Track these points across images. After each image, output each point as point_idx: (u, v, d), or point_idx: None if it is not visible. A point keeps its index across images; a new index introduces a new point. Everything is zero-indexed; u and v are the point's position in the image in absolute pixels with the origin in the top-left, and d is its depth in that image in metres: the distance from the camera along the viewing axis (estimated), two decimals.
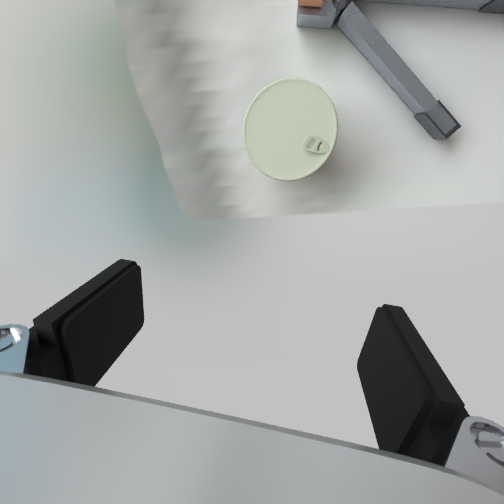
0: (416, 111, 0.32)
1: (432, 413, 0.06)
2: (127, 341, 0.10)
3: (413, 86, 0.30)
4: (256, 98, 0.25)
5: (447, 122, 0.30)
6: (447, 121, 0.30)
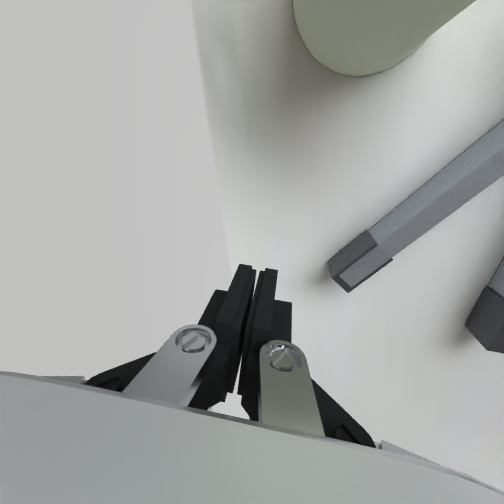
0: (375, 231, 0.20)
1: (251, 340, 0.08)
2: None
3: (424, 220, 0.17)
4: None
5: (356, 275, 0.20)
6: (358, 275, 0.20)
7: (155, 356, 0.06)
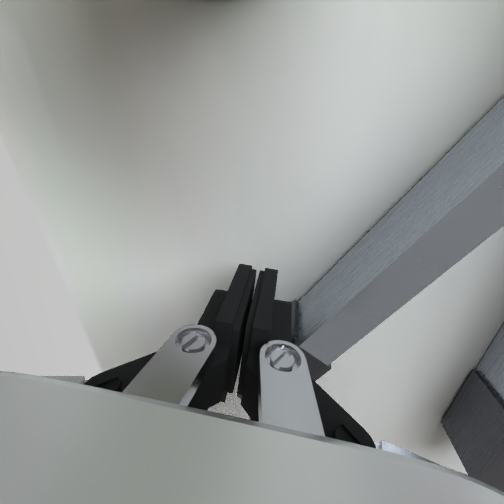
0: (304, 308, 0.12)
1: (251, 340, 0.08)
2: None
3: (374, 303, 0.09)
4: None
5: None
6: None
7: (155, 356, 0.06)
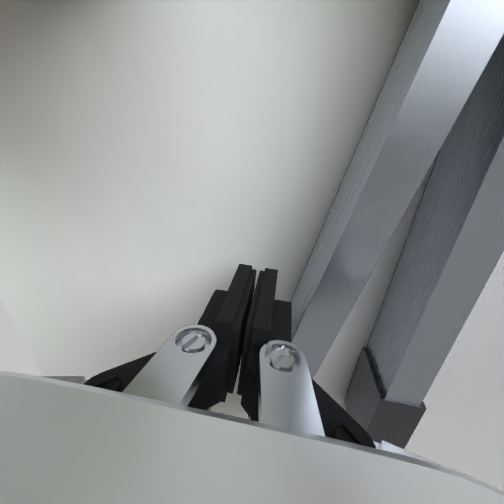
0: None
1: (251, 340, 0.08)
2: None
3: (319, 324, 0.10)
4: None
5: None
6: None
7: (155, 356, 0.06)
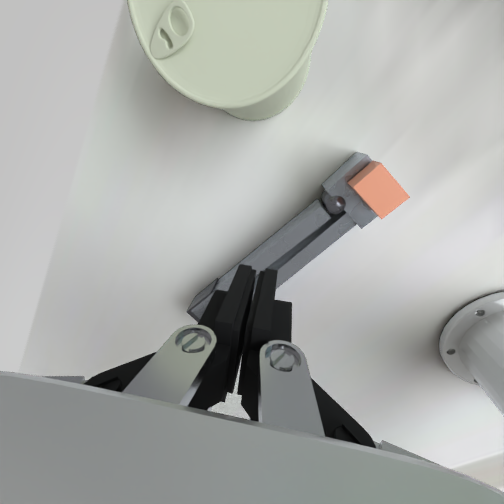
0: (219, 281, 0.30)
1: (251, 340, 0.08)
2: None
3: None
4: None
5: (201, 311, 0.29)
6: (202, 311, 0.29)
7: (155, 356, 0.06)
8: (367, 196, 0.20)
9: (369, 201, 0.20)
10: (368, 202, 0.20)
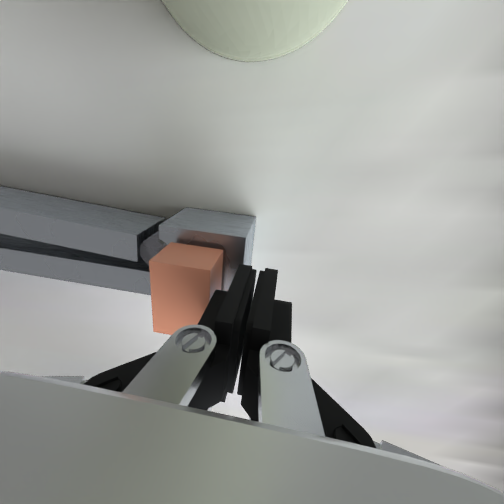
0: None
1: (252, 340, 0.08)
2: None
3: None
4: None
5: None
6: None
7: (155, 356, 0.06)
8: (158, 290, 0.11)
9: (155, 298, 0.11)
10: (153, 298, 0.11)
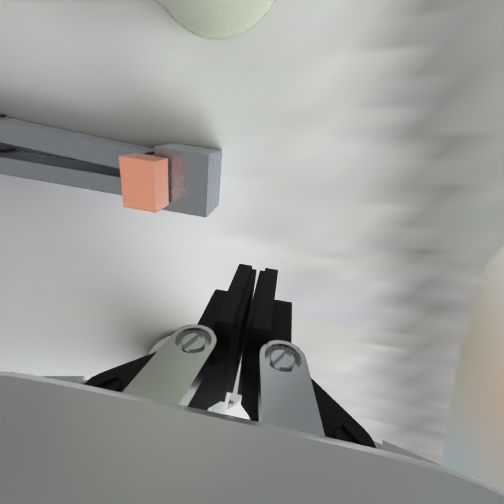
0: None
1: (251, 340, 0.08)
2: None
3: (6, 133, 0.20)
4: None
5: None
6: None
7: (155, 356, 0.06)
8: (124, 176, 0.18)
9: (123, 182, 0.18)
10: (122, 182, 0.18)
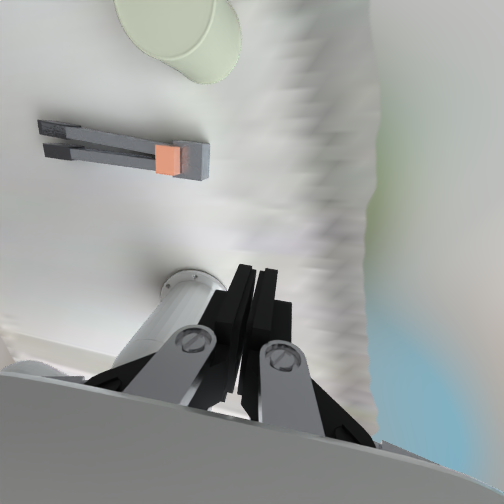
0: (79, 127, 0.38)
1: (251, 340, 0.08)
2: None
3: (87, 135, 0.36)
4: (202, 36, 0.23)
5: (48, 130, 0.36)
6: (48, 130, 0.36)
7: (155, 356, 0.06)
8: (157, 155, 0.33)
9: (156, 159, 0.33)
10: (156, 159, 0.33)
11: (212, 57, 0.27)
